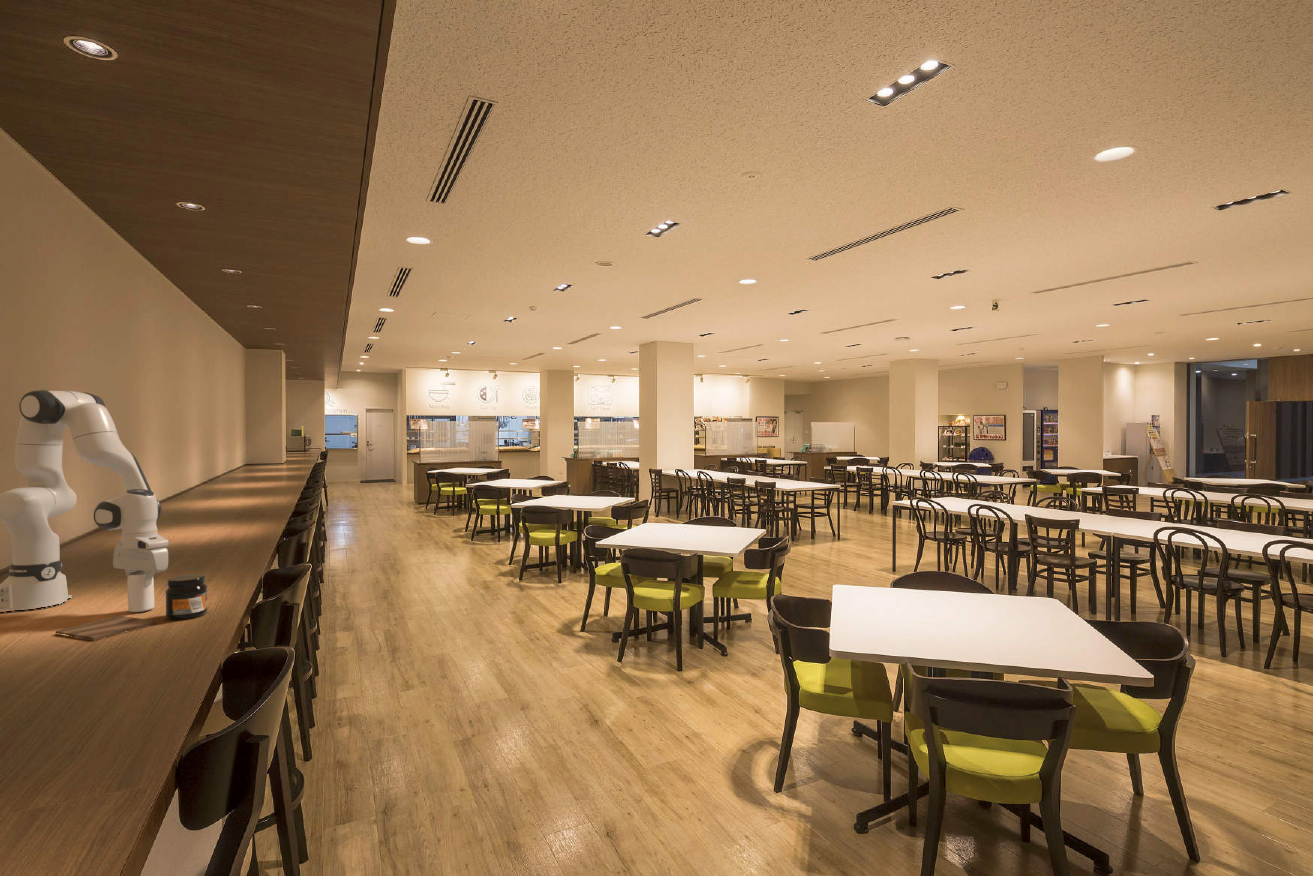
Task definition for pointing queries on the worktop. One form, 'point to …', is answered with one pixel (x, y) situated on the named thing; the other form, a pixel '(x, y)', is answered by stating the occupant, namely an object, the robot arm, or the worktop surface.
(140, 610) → the can
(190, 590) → the supplement container
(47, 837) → the worktop surface
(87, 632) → the walnut board
